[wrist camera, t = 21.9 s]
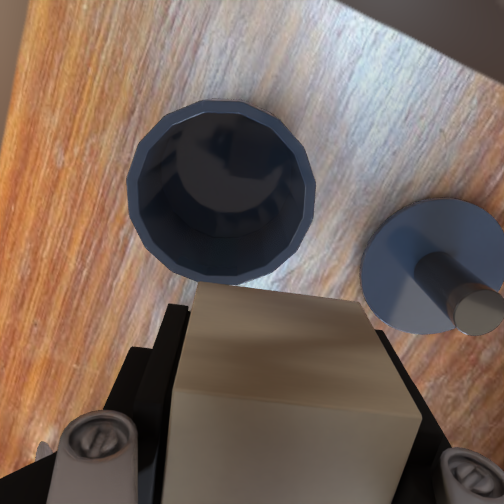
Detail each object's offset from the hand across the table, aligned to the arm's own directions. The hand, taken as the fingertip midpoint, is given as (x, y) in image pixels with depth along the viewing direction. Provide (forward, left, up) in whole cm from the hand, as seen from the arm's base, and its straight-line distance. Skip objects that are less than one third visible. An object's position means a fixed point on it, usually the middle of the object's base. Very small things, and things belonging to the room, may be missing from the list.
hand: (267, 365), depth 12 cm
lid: (-11, +10, -20) cm, 25 cm away
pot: (+1, -2, -20) cm, 20 cm away
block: (0, 0, 0) cm, 0 cm away
